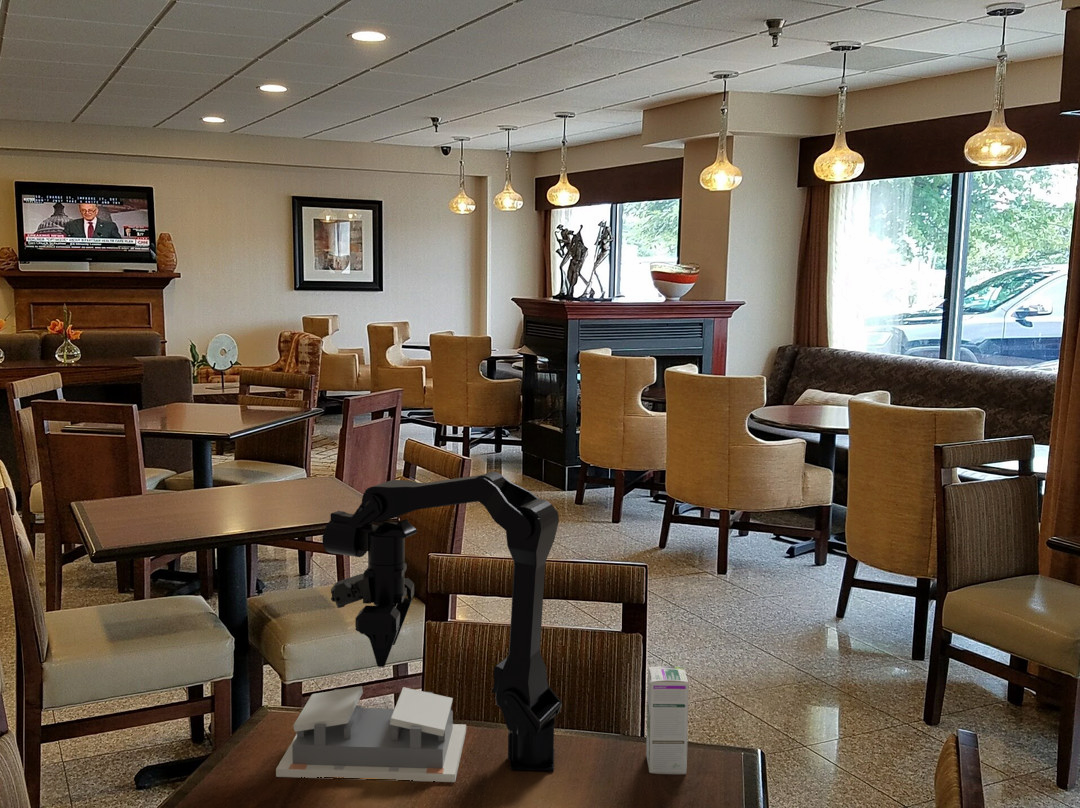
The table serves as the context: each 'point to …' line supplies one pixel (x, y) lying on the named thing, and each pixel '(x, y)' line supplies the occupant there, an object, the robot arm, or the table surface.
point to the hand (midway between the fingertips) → (386, 655)
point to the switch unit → (374, 750)
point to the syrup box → (667, 720)
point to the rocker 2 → (422, 711)
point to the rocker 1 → (328, 708)
